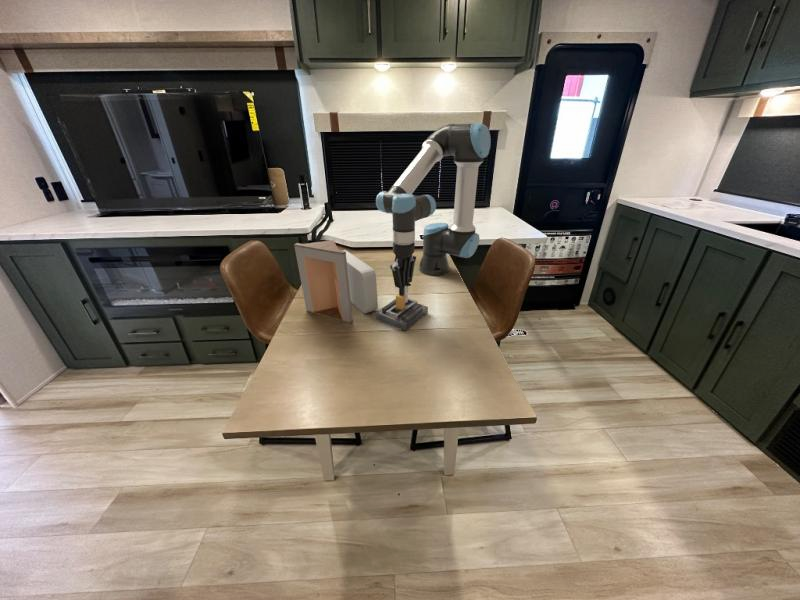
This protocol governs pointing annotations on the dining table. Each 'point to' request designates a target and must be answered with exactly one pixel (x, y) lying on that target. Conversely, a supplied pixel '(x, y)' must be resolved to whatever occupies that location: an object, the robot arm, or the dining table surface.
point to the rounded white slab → (361, 284)
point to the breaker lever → (400, 303)
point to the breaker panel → (396, 317)
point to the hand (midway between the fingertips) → (403, 301)
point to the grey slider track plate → (409, 314)
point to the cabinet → (324, 279)
